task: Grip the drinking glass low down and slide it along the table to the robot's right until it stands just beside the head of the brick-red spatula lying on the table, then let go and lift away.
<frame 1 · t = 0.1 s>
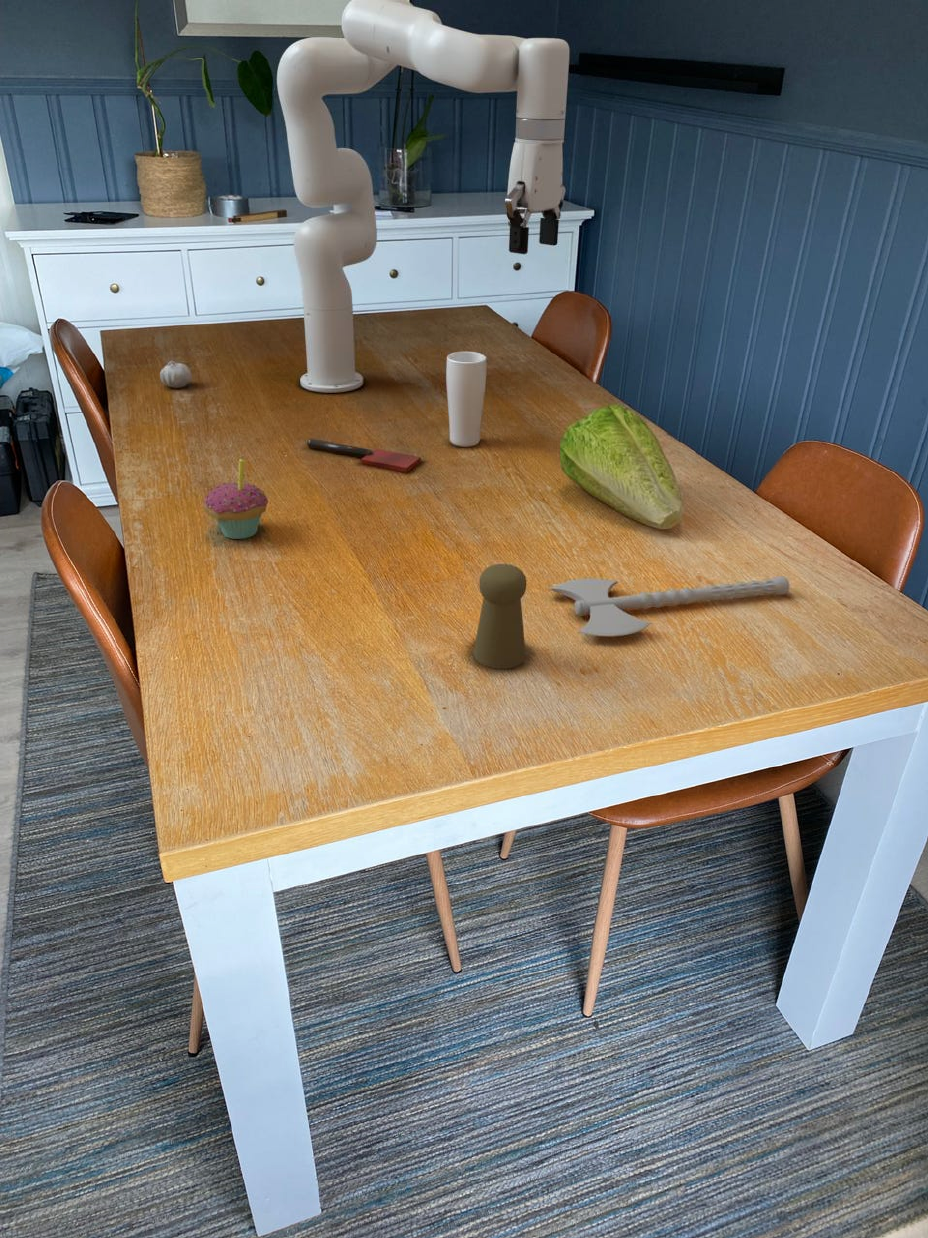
hand: (533, 248, 156), 31 cm above the table, tool pointing down, fingers open, 9 cm apart
chess pawn: (499, 655, 110), on the table
drinking glass: (464, 443, 167), on the table
cupcake: (239, 533, 135), on the table
spatula: (363, 457, 160), on the table
garlic: (178, 387, 190), on the table
axe: (675, 606, 120), on the table
lettuce: (623, 507, 145), on the table
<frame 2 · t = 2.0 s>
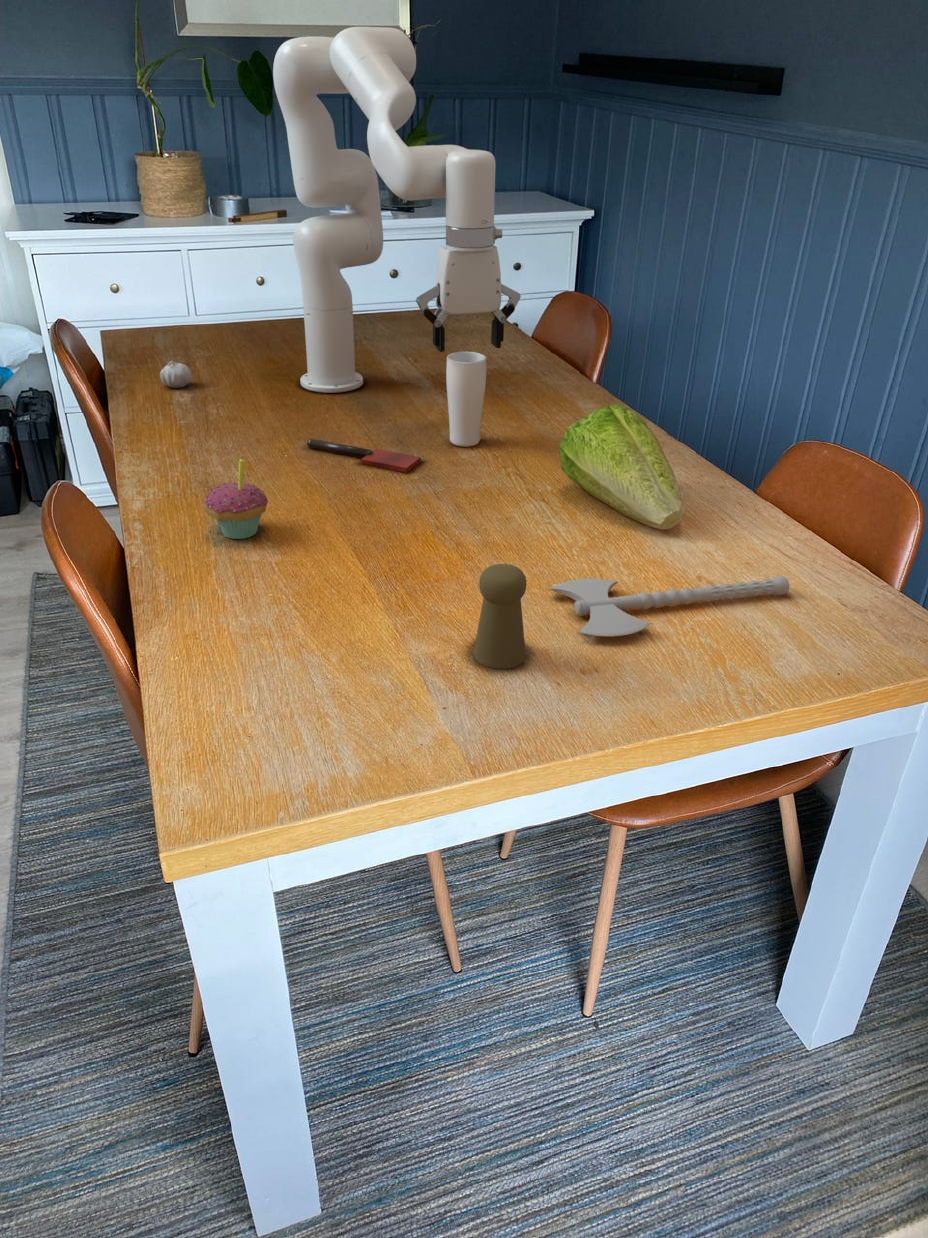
hand: (468, 347, 158), 17 cm above the table, tool pointing down, fingers open, 9 cm apart
nothing on the table moved.
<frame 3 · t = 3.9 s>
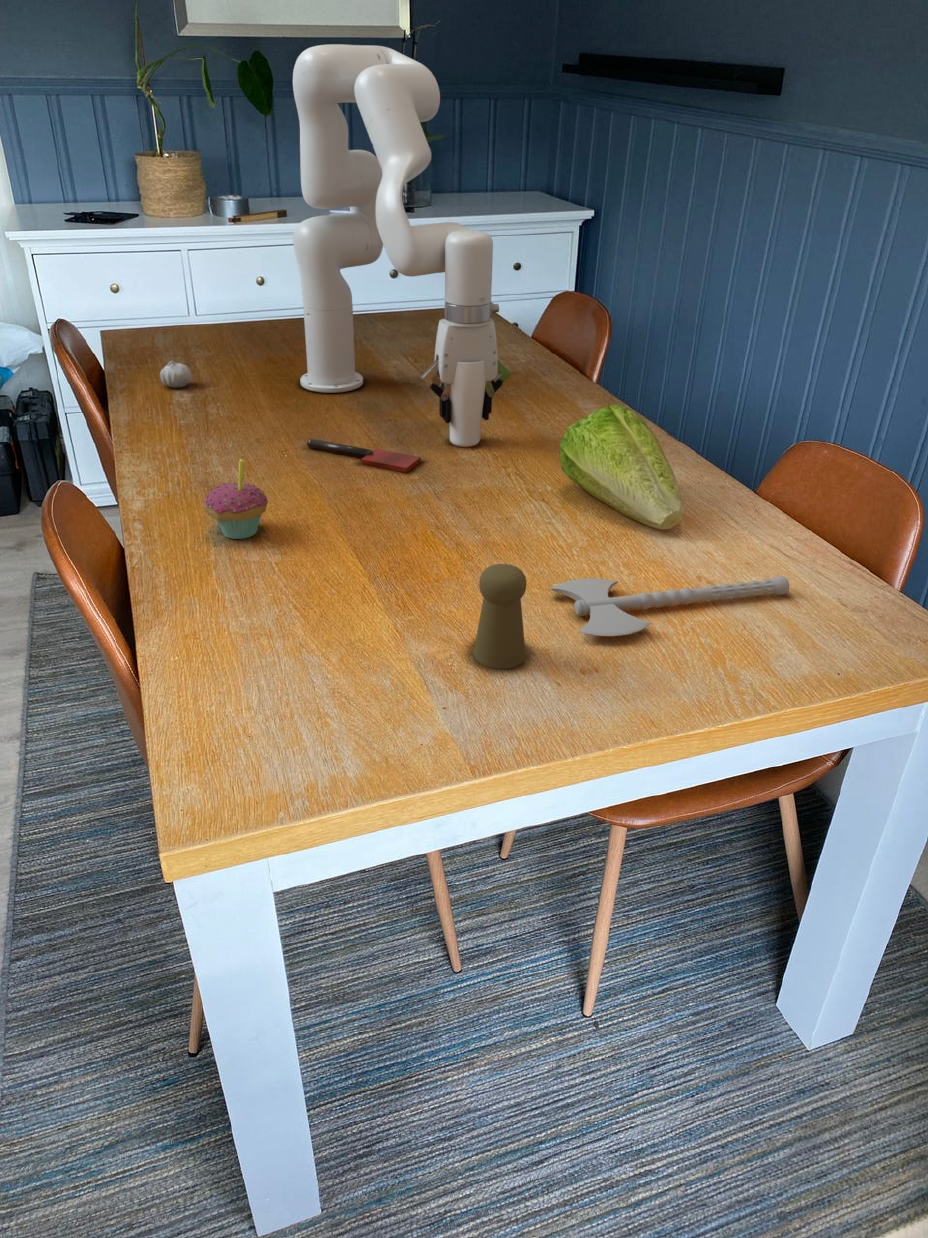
hand: (465, 418, 164), 4 cm above the table, tool pointing down, fingers closed on drinking glass, 6 cm apart
drinking glass: (464, 443, 167), on the table, touching gripper
everything else where it was.
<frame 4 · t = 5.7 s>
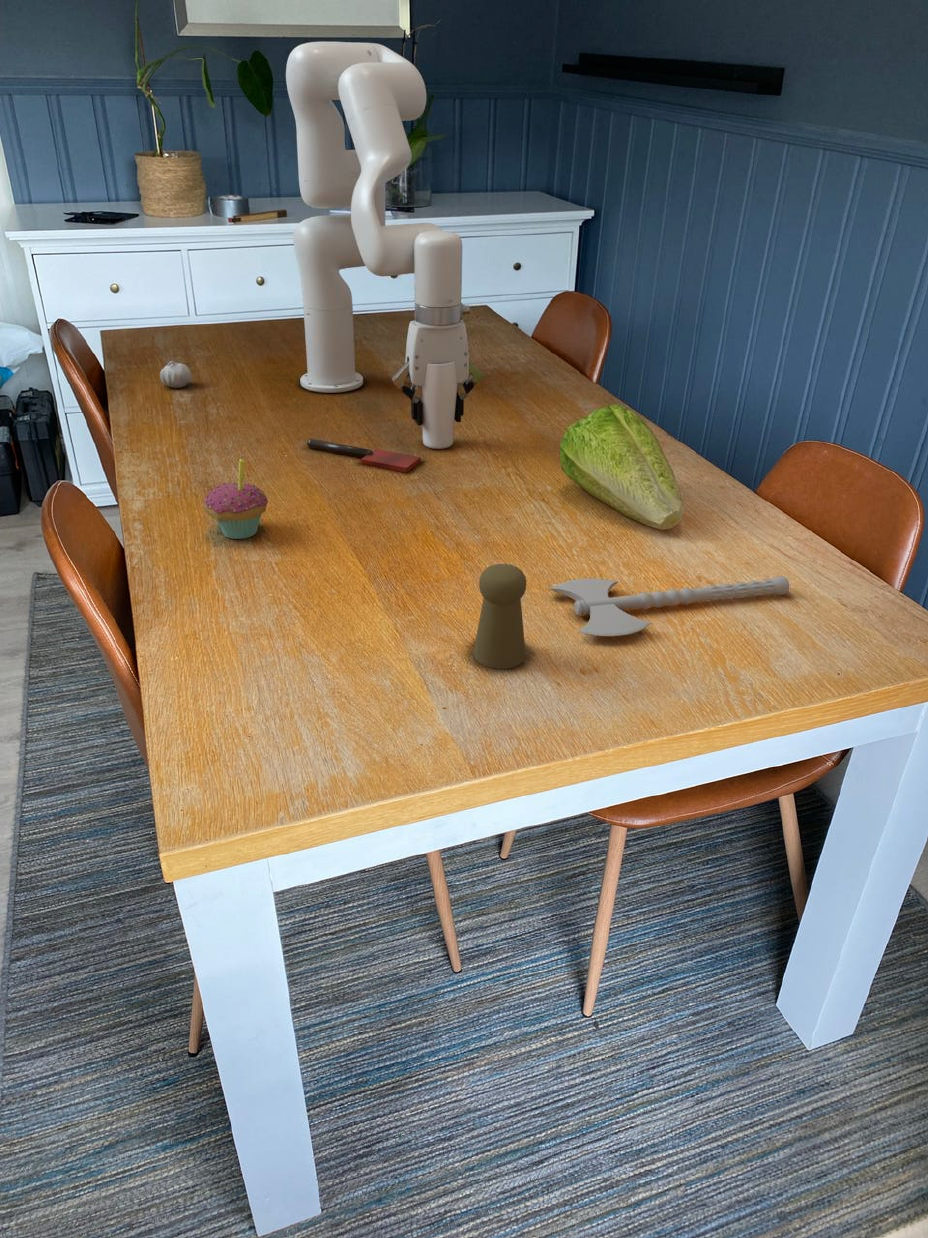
hand: (437, 420, 163), 4 cm above the table, tool pointing down, fingers closed on drinking glass, 6 cm apart
drinking glass: (438, 445, 166), on the table, touching gripper
everything else where it was.
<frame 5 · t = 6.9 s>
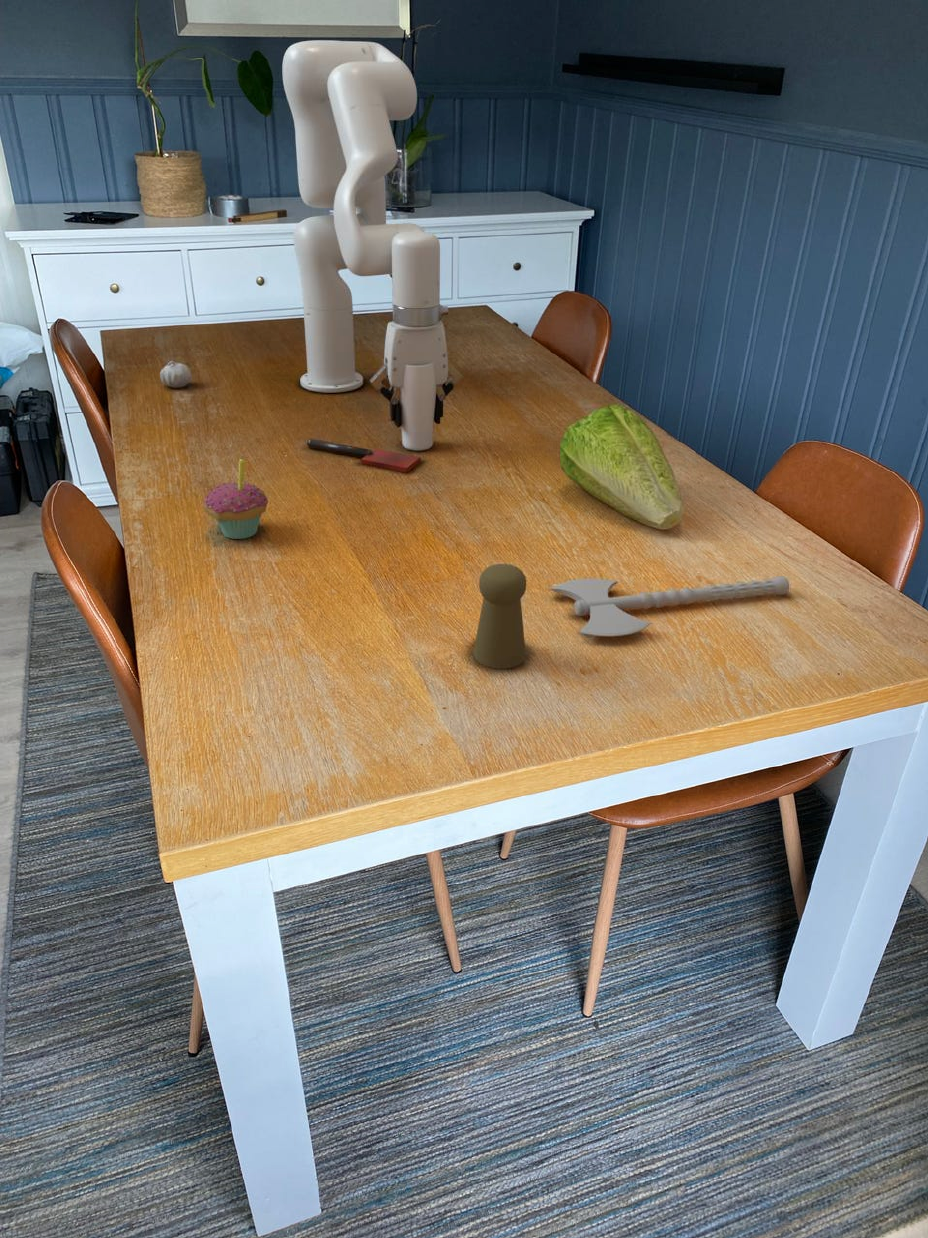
hand: (416, 422, 162), 4 cm above the table, tool pointing down, fingers closed on drinking glass, 6 cm apart
drinking glass: (417, 447, 165), on the table, touching gripper
everything else where it was.
when the fingers open (4 cm above the table, at t = 7.6 s): drinking glass stays where it is, on the table.
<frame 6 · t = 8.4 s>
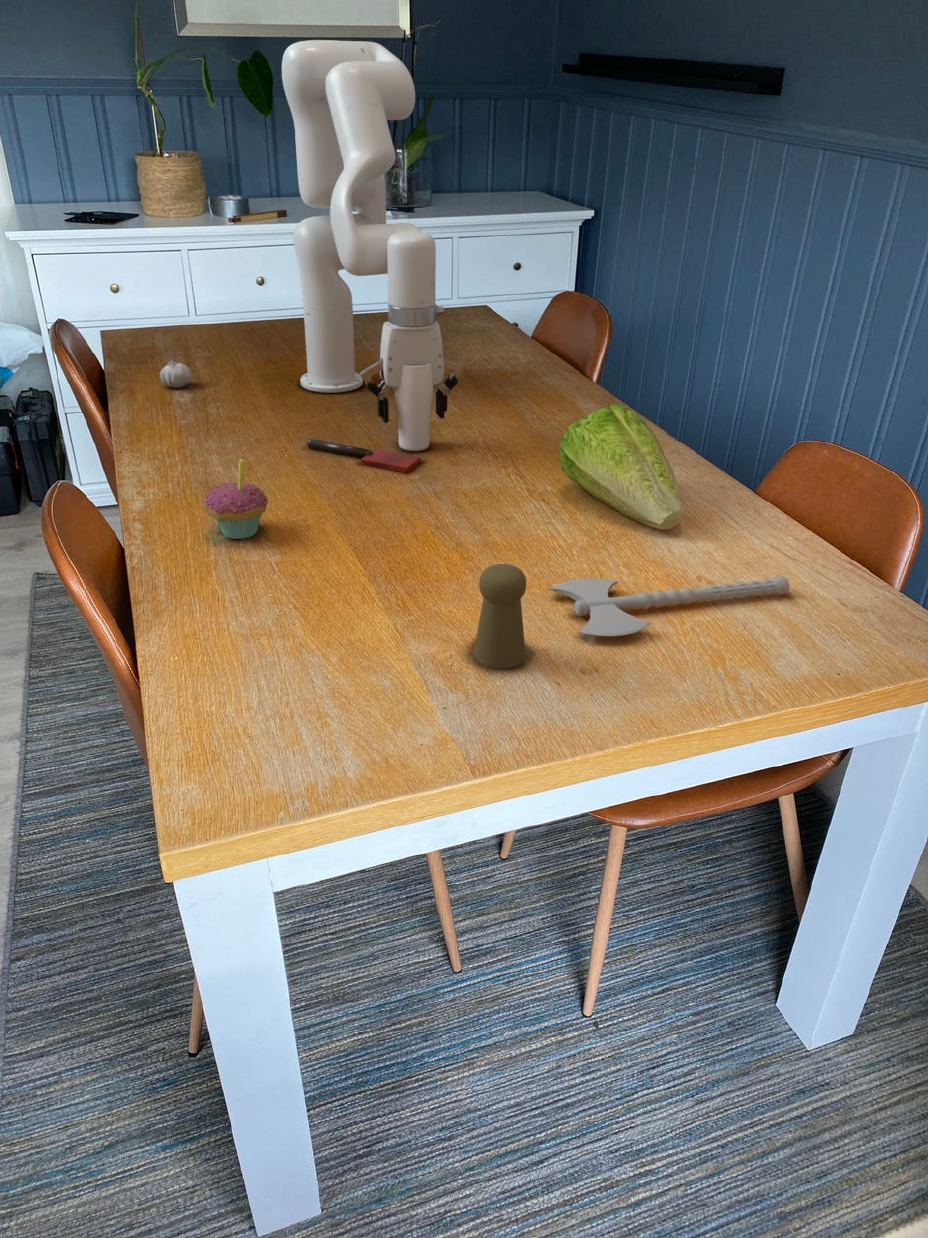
hand: (412, 417, 162), 5 cm above the table, tool pointing down, fingers open, 9 cm apart
drinking glass: (414, 447, 165), on the table
everything else where it was.
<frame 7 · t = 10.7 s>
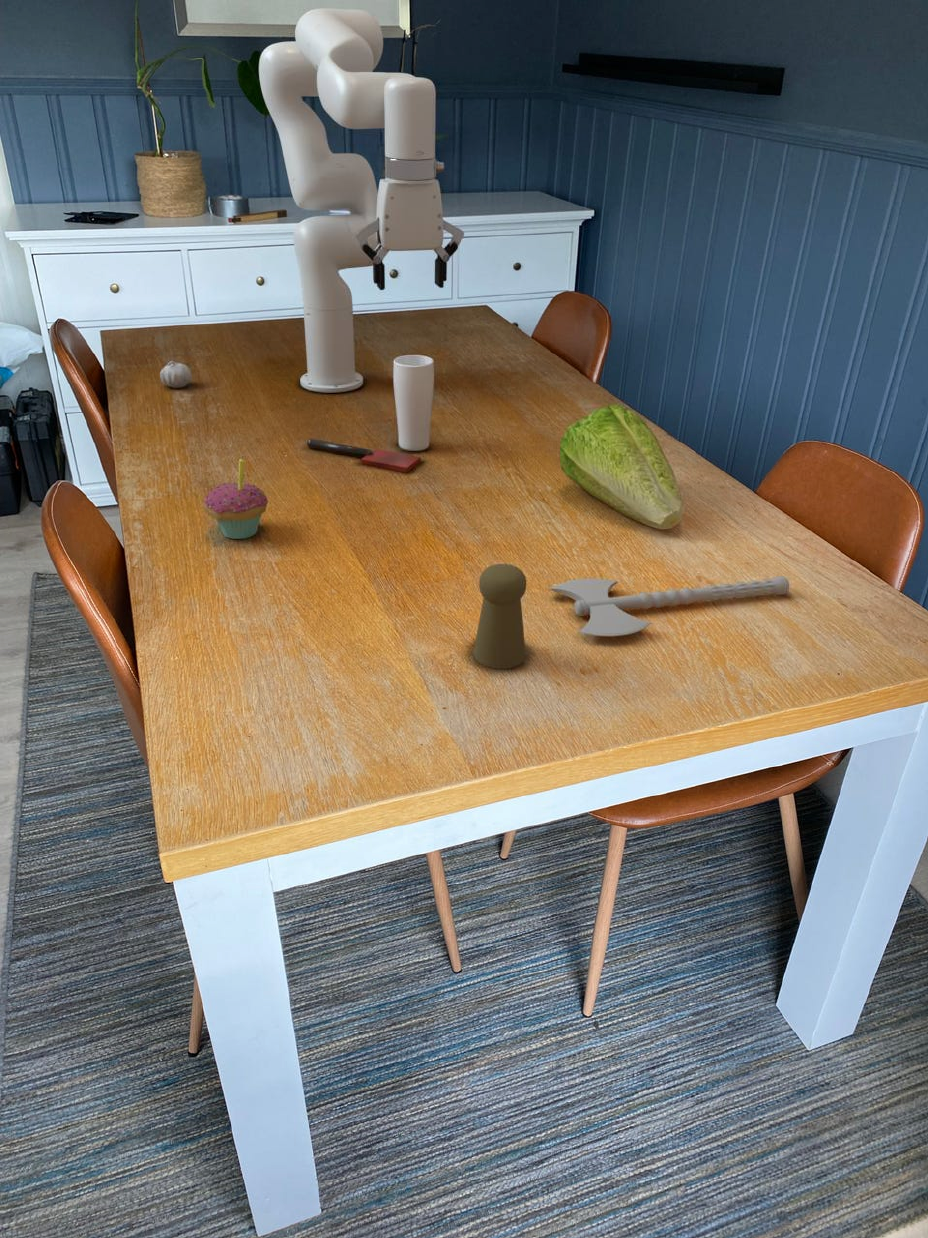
hand: (410, 286, 154), 26 cm above the table, tool pointing down, fingers open, 9 cm apart
nothing on the table moved.
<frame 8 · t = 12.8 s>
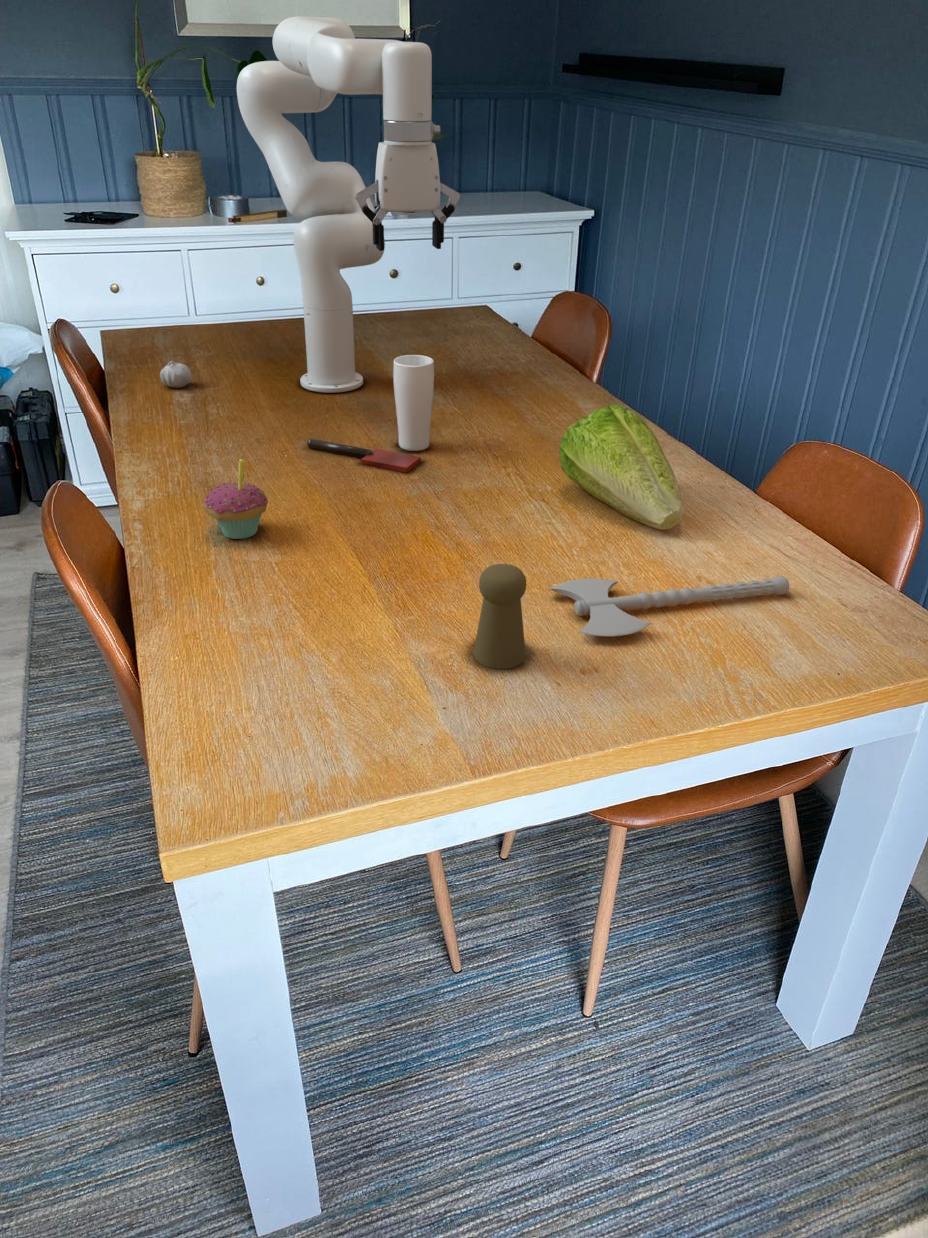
hand: (408, 248, 159), 30 cm above the table, tool pointing down, fingers open, 9 cm apart
nothing on the table moved.
at the end: drinking glass 0.3 cm from the target spot on the table beside the spatula, on the table; drinking glass tilted 0°; the gripper is holding nothing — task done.
